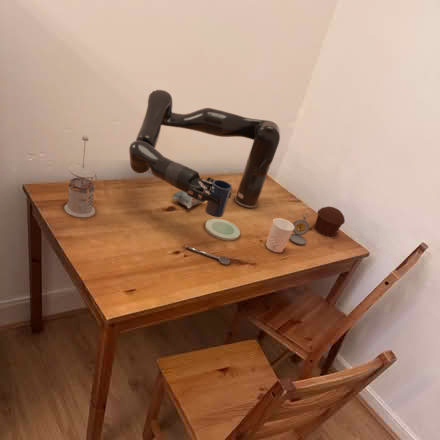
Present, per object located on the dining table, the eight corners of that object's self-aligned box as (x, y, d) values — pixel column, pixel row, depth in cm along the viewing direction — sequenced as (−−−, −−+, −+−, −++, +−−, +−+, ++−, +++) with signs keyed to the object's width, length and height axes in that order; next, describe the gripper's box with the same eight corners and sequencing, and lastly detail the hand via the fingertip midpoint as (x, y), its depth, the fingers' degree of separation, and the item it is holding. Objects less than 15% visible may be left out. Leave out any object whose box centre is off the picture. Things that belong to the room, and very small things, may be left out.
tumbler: (207, 205, 144) (215, 177, 138) (225, 211, 144) (233, 184, 138) (203, 212, 139) (210, 184, 133) (221, 219, 139) (229, 191, 133)
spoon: (186, 245, 144) (187, 242, 143) (230, 260, 144) (231, 258, 143) (183, 250, 141) (184, 248, 140) (228, 266, 141) (229, 264, 140)
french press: (57, 208, 140) (60, 133, 125) (79, 197, 149) (85, 125, 134) (83, 220, 139) (89, 145, 124) (104, 208, 148) (112, 137, 133)
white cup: (286, 246, 161) (296, 223, 155) (282, 256, 155) (292, 232, 149) (266, 238, 162) (275, 215, 156) (261, 247, 156) (271, 224, 150)
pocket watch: (294, 246, 163) (304, 223, 157) (283, 233, 168) (292, 211, 162) (311, 245, 167) (321, 223, 161) (299, 233, 173) (308, 211, 167)
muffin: (337, 228, 185) (347, 208, 179) (338, 241, 176) (349, 220, 170) (311, 220, 185) (320, 199, 179) (310, 232, 176) (320, 210, 170)
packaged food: (206, 205, 170) (208, 193, 167) (187, 212, 161) (190, 201, 158) (188, 195, 173) (191, 184, 170) (169, 202, 164) (172, 190, 161)
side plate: (209, 217, 163) (210, 214, 162) (242, 228, 163) (242, 226, 162) (201, 232, 153) (201, 230, 152) (235, 244, 152) (236, 242, 152)
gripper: (172, 172, 133) (218, 194, 129) (194, 161, 144) (238, 182, 140) (167, 193, 137) (212, 216, 134) (189, 182, 149) (231, 202, 145)
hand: (225, 198), depth 137 cm, fingers closed on tumbler, 6 cm apart
